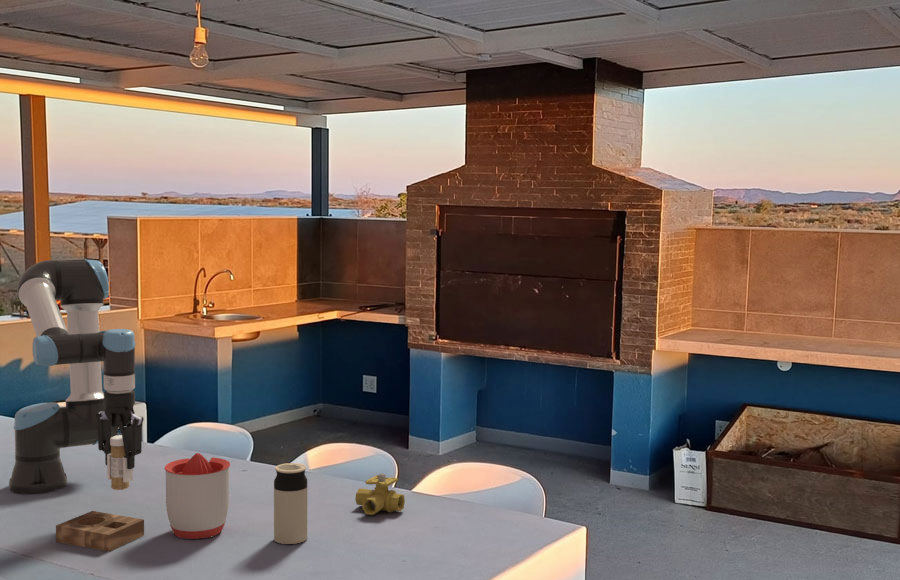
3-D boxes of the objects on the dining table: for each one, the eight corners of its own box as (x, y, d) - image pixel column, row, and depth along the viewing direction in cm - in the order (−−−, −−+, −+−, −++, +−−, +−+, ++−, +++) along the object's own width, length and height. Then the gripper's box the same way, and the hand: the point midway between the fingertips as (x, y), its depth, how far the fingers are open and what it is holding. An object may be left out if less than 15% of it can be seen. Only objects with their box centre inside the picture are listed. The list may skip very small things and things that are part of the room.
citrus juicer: (232, 518, 241) (232, 442, 239) (228, 541, 224) (228, 460, 222) (170, 520, 238) (169, 444, 237) (161, 544, 221) (160, 462, 220)
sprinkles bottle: (128, 484, 243) (127, 433, 242) (130, 489, 239) (130, 438, 238) (109, 486, 241) (109, 435, 240) (111, 491, 237) (111, 439, 236)
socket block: (56, 541, 222) (55, 525, 222) (92, 526, 233) (92, 510, 233) (109, 551, 216) (109, 534, 216) (144, 535, 228) (144, 519, 227)
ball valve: (406, 509, 251) (407, 473, 250) (389, 521, 241) (390, 483, 241) (365, 503, 256) (365, 467, 255) (346, 514, 246) (347, 477, 245)
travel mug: (292, 547, 221) (292, 473, 219) (267, 541, 225) (266, 468, 223) (314, 538, 227) (314, 465, 226) (289, 531, 232) (289, 460, 230)
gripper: (81, 389, 237) (82, 478, 239) (136, 396, 231) (137, 488, 233) (102, 384, 244) (103, 470, 246) (156, 391, 238) (157, 480, 240)
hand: (120, 479), depth 240 cm, fingers closed on sprinkles bottle, 4 cm apart
